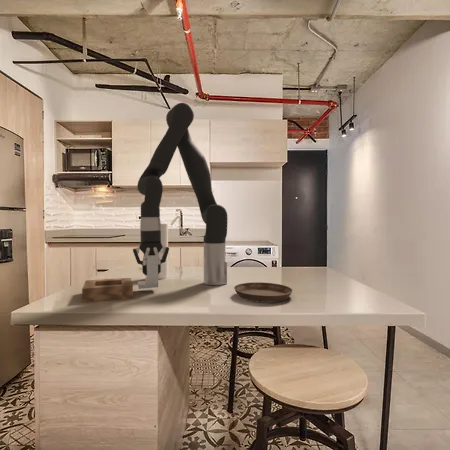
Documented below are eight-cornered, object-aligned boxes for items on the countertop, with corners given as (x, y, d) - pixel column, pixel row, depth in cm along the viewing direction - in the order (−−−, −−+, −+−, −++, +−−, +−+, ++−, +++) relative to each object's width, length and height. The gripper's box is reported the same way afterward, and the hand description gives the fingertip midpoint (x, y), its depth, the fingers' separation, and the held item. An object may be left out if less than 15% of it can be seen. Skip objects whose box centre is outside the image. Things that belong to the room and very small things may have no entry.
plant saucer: (280, 289, 124) (280, 280, 124) (302, 303, 104) (302, 293, 104) (229, 291, 121) (229, 282, 121) (241, 306, 101) (241, 296, 100)
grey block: (156, 283, 124) (155, 253, 123) (158, 287, 118) (157, 255, 117) (137, 285, 121) (137, 254, 121) (138, 288, 115) (138, 256, 115)
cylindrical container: (149, 278, 144) (148, 223, 143) (158, 275, 151) (157, 223, 150) (162, 279, 141) (162, 223, 141) (171, 276, 148) (170, 223, 147)
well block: (130, 289, 123) (130, 277, 122) (132, 298, 109) (132, 285, 109) (85, 292, 117) (85, 280, 117) (82, 302, 104) (82, 288, 104)
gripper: (167, 228, 125) (168, 271, 126) (130, 229, 120) (131, 274, 121) (171, 229, 118) (172, 274, 119) (131, 230, 113) (132, 277, 114)
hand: (151, 274), depth 120 cm, fingers closed on grey block, 4 cm apart
